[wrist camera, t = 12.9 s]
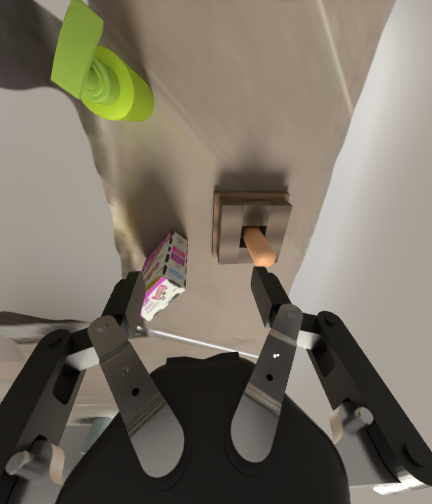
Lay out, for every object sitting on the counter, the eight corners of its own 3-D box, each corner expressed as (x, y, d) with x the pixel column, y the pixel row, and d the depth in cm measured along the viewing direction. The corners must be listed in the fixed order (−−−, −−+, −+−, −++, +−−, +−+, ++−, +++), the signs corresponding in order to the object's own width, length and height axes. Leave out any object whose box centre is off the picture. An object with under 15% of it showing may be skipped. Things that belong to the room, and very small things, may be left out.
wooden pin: (240, 220, 43) (255, 249, 33) (258, 220, 43) (277, 249, 33) (238, 236, 45) (252, 268, 35) (255, 236, 45) (273, 267, 36)
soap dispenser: (163, 87, 30) (130, 44, 14) (144, 129, 33) (96, 135, 16) (126, 55, 28) (32, -45, 11) (109, 103, 30) (12, 79, 14)
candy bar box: (171, 228, 44) (162, 275, 30) (188, 240, 46) (187, 289, 32) (144, 258, 47) (125, 312, 34) (161, 268, 50) (150, 322, 36)
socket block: (214, 191, 40) (217, 200, 35) (287, 192, 42) (298, 200, 37) (212, 254, 49) (214, 267, 44) (272, 252, 51) (280, 265, 46)
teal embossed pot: (116, 420, 103) (108, 452, 93) (99, 424, 104) (90, 456, 94) (104, 415, 97) (95, 448, 87) (87, 419, 98) (75, 452, 88)
